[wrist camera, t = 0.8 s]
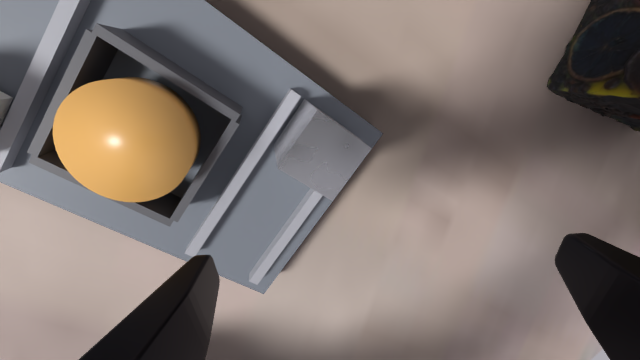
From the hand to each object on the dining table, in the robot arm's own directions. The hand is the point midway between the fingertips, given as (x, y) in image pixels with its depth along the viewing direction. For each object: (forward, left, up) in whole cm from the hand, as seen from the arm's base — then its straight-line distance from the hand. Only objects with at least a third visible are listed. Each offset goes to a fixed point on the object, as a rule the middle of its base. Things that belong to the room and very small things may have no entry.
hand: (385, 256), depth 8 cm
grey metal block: (0, +1, -10) cm, 10 cm away
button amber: (-4, +8, -9) cm, 12 cm away
